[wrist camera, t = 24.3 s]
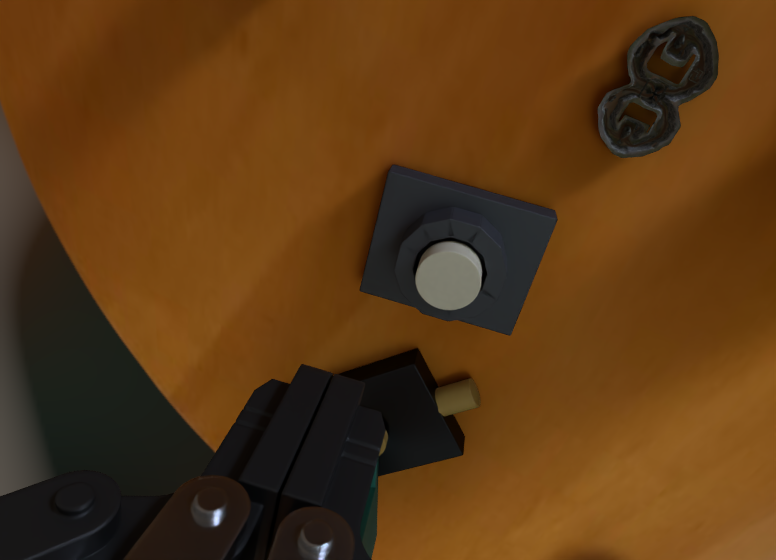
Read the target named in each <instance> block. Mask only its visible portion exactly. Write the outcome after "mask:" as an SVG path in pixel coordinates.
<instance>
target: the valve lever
mask: <svg viewBox="0 0 776 560" xmlns="http://www.w3.org/2000/svg"><path fill="white" fill-rule="evenodd" d="M387 440H388V434H387V431H385V435H384V439H383V443H382V446H381V450H380V454H379V455H381V454H382V453H383V452H384V450H385V448H386V444H387ZM377 504H378V461H377V465H376V469H375V472H374V476H373V480H372V484H371V487H370V491H369V495H368V498H367V502H366V506H365V510H364V513H363V517H362V521H361V526H360V535H361V540H362V543H363V546H364V548H365V550H366V552H367V554H368V555H369V557H370V558H372V553H373V549H374V545H375V541H376V536H377Z"/></svg>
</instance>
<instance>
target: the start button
mask: <svg viewBox="0 0 776 560" xmlns="http://www.w3.org/2000/svg"><path fill="white" fill-rule="evenodd" d="M481 279H482V265H481V262H480V259H479V257H478V256H477V254H476V253H475V252H474V251H473V250H472V249H471V248H470V247H468V246H467V245H465V244H463V243H460V242H457V241H442V242H438V243H436V244H434V245H432V246H430V247H429V248H428V249H427V250H426V251H425V252H424V253H423V255H422V257H421V259H420V262H419V265H418V268H417V271H416V276H415V282H416V287H417V290H418V292H419V294H420V295H421V297H422V298H423V299H424V300H425V301H426V302H427V303H429V304H430V305H432V306H434V307H436V308H439V309H443V310H456V309H460V308H463V307H465V306H467V305H468V304H470V303H471V302H472V301H473V300H474V299H475V298H476V297H477V295H478V293H479V291H480V288H481Z"/></svg>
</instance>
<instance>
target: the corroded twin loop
mask: <svg viewBox="0 0 776 560" xmlns="http://www.w3.org/2000/svg"><path fill="white" fill-rule="evenodd" d="M666 41H668V43H667V44H666V46H665V48H664V50H663V52H662V55H661V59H662V60H664V61H665V62H667V63H669V64H670V65H672V66H677V67H683V66H684V65H685V64H686V63H687V62H688V61H689V59H690V58H691V56H692V55H693V54H695V55H696V58H695V60H694V62H693V63H692V65H691V66H690V68H689V70H688V71H687V73H686V74H685V76H684V77H683V79H682V81H681V82H680V83H679V84H675V83H673V82H671V81H669V80H667V79H665V78H663V77H661V76H659V75H656V74H654V73H651V72H650V71H649V70H648V69H647V62H648V61H649V59H650V58H651V56H652V55H653V53H654V51H655V49H656V48H657V47H658V46H659V45H660V44H662V43H664V42H666ZM718 61H719V54H718V48H717V42H716V39H715V37H714V35H713V33H712V31H711V29H710V27H709V25H708V23H706V22H705V21H704V20H702V19H699V18H697V17H695V16H690V17H679V18H675V19H672V20H669V21H667V22H664V23H662V24H659V25H656V26H654V27H652V28H649V29H647V30H646V31H645V32H644V33H643V34H642V35H641V36H640V37H638V38H637V40H636V41H635V42H634V43H633V44H632V45H631V46H630V48H629V50H628V54H627V63H628V65H627V68H628V72H629V76H630V78H631V82H630V84H628V85H625V86H623V87H620V88H617V89H614V90H612V91H610V92H608V93H607V94H606V95H605V97H604V98H603V100H602V102H601V104H600V105H599V107H598V116H599V118H598V126H599V133H600V136H601V138H602V140H603V141H604V142H605V143H606V145H607V147H608V148H609V149H610V151H611V152H612V153H613V154H614V155H616V156H618V157H621V158H628V157H641V156H645V155H647V154H650V153H653V152H656V151H658V150H660V149H661V148H662V147H664V146H667V145H668V144H670V142H671V141H672V139H673V138H674V136H675V135H676V133H677V132H678V130H679V129H680V126H681V124H680V119H679V112H678V106H679V105H681V104H683V103H685V102H688V101H690V100H692V99H693V98H695V97H697V96H698V95H700V94H702V93H703V92H705V91H706V90H708V89H710V87H711V86H712V84H713V83H714V81H715V80H716V78H717V75H718ZM632 102H634V103H636V104H638V105H640V106H641V107H643V108H645V109H648V110H651V111H654V112H655V113H656V114H657V118H656V121H655V122H654V123H653V126H652V127H651V128H650V130H649V131H648V133H646V132H647V130H648V129H649V127H650V125H648V124H645V123H643V122H641V121H639V120H637V119H634V118H632V117H629V116H626V115H625V116H624V117H623V119H622V120H621V121H619V118H620V117H621V115H622V113H623V112H624V110H625V108H626V107H627V106H628V104H629V103H632Z"/></svg>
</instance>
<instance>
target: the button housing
mask: <svg viewBox="0 0 776 560" xmlns="http://www.w3.org/2000/svg"><path fill="white" fill-rule="evenodd" d="M556 222H557V216H556V212H555V210H552V209H548V208H545V207H541V206H538V205H534V204H531V203H527V202H524V201H520V200H516V199H513V198H509V197H506V196H502V195H499V194H495V193H492V192H488V191H485V190H481V189H478V188H474V187H471V186H467V185H464V184H460V183H457V182H453V181H450V180H446V179H443V178H439V177H436V176H432V175H429V174H425V173H422V172H418V171H415V170H411V169H408V168H404V167H401V166H397V165H392V167H391V168H390V170H389V171H388V175H387V179H386V183H385V187H384V191H383V196H382V200H381V204H380V208H379V212H378V216H377V220H376V224H375V228H374V232H373V237H372V241H371V245H370V249H369V253H368V257H367V261H366V265H365V269H364V274H363V278H362V282H361V286H360V291H361V292H365V293H368V294H371V295H375V296H378V297H382V298H385V299H388V300H392V301H395V302H398V303H402V304H405V305H408V306H412V307H415V308H417V309H418V310H419V311H420V312H421V313H422V314H426V315H429V316H432V317H436V318H439V319H442V320H446V321H453V320H459V321H462V322H466V323H469V324H472V325H476V326H479V327H482V328H486V329H489V330H493V331H496V332H499V333H503V334H506V335H511V333H512V331H513V328H514V326H515V324H516V321H517V319H518V316H519V314H520V311H521V309H522V306H523V304H524V301H525V299H526V296H527V294H528V291H529V289H530V286H531V284H532V281H533V279H534V276H535V274H536V272H537V269H538V267H539V264H540V262H541V259H542V257H543V254H544V252H545V249H546V247H547V244H548V242H549V239H550V237H551V234H552V232H553V229H554V227H555V225H556ZM442 241H457V242H460V243H463V244H465V245H467V246H468V247H470V248H471V249H472V250H473V251H474V252H475V253H476V254H477V256H478V257H479V259H480V262H481V265H482V279H481V288H480V291H479V293H478V295H477V297H476V298H475V299H474V300H473V301H472V302H471V303H470V304H468V305H467V306H465V307H463V308H460V309H456V310H443V309H439V308H436V307H434V306H432V305H430V304H429V303H427V302H426V301H425V300H424V299H423V298H422V297H421V295H420V294H419V292H418V290H417V287H416V282H415V276H416V271H417V268H418V265H419V262H420V259H421V257H422V255H423V253H424V252H425V251H426V250H427V249H428V248H429V247H430V246H432V245H434V244H436V243H438V242H442Z"/></svg>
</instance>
